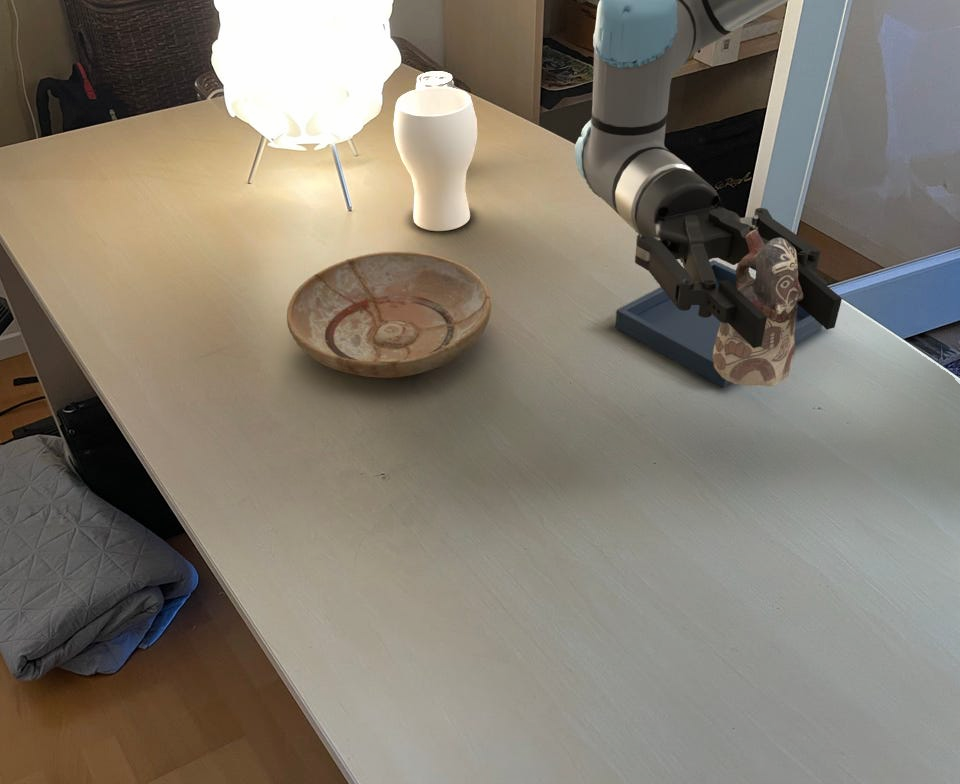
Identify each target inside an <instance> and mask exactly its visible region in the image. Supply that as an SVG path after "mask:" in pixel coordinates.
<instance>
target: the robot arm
mask: <svg viewBox="0 0 960 784" xmlns="http://www.w3.org/2000/svg"><path fill="white" fill-rule="evenodd" d="M789 1H790V0H599V2H598V4H597V8H596V19H595V27H594V31H593V32H594V33H593V35H592V36H593V37H592V39H593V42H592V44H593V45H592V46H593V76H592V78H593V79H592V80H593V81H592V104H591V105H592V108H591V118H590V119H589V121H587V123H586V124H585V125H584V126H583V128H581V132H580V134H579V136H578V138H577V140H576V143H575V146H574V162H575V167H576V170H577V171H578V173H579V175H580V176H581V178H583V180H584V181H585V183H586V184H587V185H588V188H589V189H590V190H591V192H593V193H594V195H596V196H597V197H598V198H600V199H601V200H602V201H604V202H605V203H606V204H607V205H608V206H609V207H611V209H612V210H613V211H614V212H615V213H616V214H617V215H618V216H620V218H621V219H622V220H623V221H624V222H625V223H627V225H629V226H630V227H631V229H633V230H634V231H635V233H637V235H636V241H635V253H634V263H635V264H636V265H637V266H640V267H641V268H643V269H645V270H646V271H648V272H649V274H650V275H651V277H653V279H654V280H655V281H656V283H657V284H658V285H659V286H660V287H662V289H663V290H664V291H665V293H666V294H667V295H668V296H669V298H670V299H671V300H672V302H673V303H674V304H675V305H676V307H677V308H678V309H679V310H683V311H686V310H689V309H691V305H699V311H698V315H699V316H700V317H703V318H707V317H710V316H711V315H712V314H713V315H714V316H715V317H716V318H717V319H718V320H719V321H720V322H722V323H728V324H729V325H730V326H731V327H733V328H734V329H735V330H736V331H737V332H738V333H739V334H740V335H741V336H742V337H743V338H744V339H745V340H746V341H747V342H748V343H749V344H750V345H751V346H752V347H753V348H757V347H761V346H762V341H763V336H764V331H765V326H766V321H767V316H766V315H765V314H763V313H762V312H761V311H760V310H759V309H758V308H757V307H756V306H755V305H754V304H753V303H752V302H751V301H750V300H748V299H747V298H746V297H745V296H744V295H743V294H742V293H741V292H740V291H739V290H738V289H737V288H736V287H735V286H734V285H732V284H731V283H730V282H729V281H728V280H724V281H720V282H719V288H718V287H717V286H716V282H717V280H716V277H715V275H714V272H713V269H712V266H711V264H710V262H711V260H714V259H719V260H721V261H724V262H725V263H727V264H730V265H731V266H736V265H738V263H739V262H740V261H741V260H742V259H743V258H744V257H745V256H746V255H748V254H749V252H750V251H749V247H748V244H747V241H746V235H747V234H749V233H750V232H752V231H753V230H757V231H758V233H759V235H760V237H761V239H762V241H763V242H764V244H765V245H766V244H767V243H768V242H769V241H770V240H772V239H774V238H783V239H785V240H787V241H788V242H789V243H790V244H791V245H792V246H793V247H794V248H795V250H796V253H797V264H798V281H799V284H800V286H801V289H802V292H803V298H802V300H800V301H798V302H797V304H799V305H800V306H801V307H802V308H803V309H804V310H805V311H806V312H808V313H809V314H810V315H811V316H812V317H813V318H814V319H815V320H817V321H818V322H819V323H820V324H821V325H822V327H823V328H824V329H825V330H831V329H835V327H836V325H837V324H836V323H837V320H838V316H839V313H840V309H841V308H840V307H841V304H842V300H843V298H842V297H841V296H840V295H839V294H838V293H836V292H835V291H834V290H833V289H832V288H830V286H828V283H827V280H825V279H824V278H823V277H822V276H821V275H819V274H818V273H817V271H818V267H819V262H820V258H821V250H820V249H818V248H816V247H815V246H814V245H812V244H811V243H809V242H808V241H806V240H805V239H803V238H802V237H801V236H799V235H797V234H796V233H795V232H793V231H792V230H790V229H789V228H787V227H786V226H784V225H783V224H781V222H778V221H777V220H776V219H774V218H773V217H772V215H771V213H770V211H769V209H767V208H765V207H758V208H755V210H754V212H753V215H752V216H748V217H747V216H745V217H740V216H739V215H738V214H737V213H736V212H735V211H731V210H728V209H726V208H725V207H724V205H723V203H722V201H721V197H720V196H719V194H718V192H717V191H716V189H715V188H714V187H713V186H712V185H711V184H710V183H708V182H707V181H706V180H705V179H703V177H701V176H700V175H699V174H698V173H696V172H695V170H693V169H692V167H690V166H689V165H687V164H686V163H685V162H684V161H683V160H682V159H680V158H679V157H677V156H676V155H675V154H674V153H672V152H671V151H670V150H669V149H668V148H667V147H666V146H665V138H666V128H667V121H668V112H669V111H668V110H669V109H668V108H669V102H670V91H671V82H672V79H673V77H674V76H675V75H676V74H677V73H678V72H679V70H680V69H681V68H682V67H683V66H684V65H685V64H686V63H687V61H688V60H689V59H690V58H691V57H692V56H693V55H694V54H696V53H697V52H699V51H700V50H702V49H704V48H706V47H708V46H709V45H711V44H713V43H715V42H717V41H719V40H721V39H723V38H724V37H726V36H727V35H729V34H730V33H733V32H734V31H735V30H737V29H739V28H741V27H743V26H745V25H747V24H748V23H749V22H752V21H753V20H755V19H758V18H759V17H761V16H763V15H764V14H766V13H768V12H770V11H772V10H775V8H777V7H780V6H781V5H783V4H785V3H786V2H789ZM678 260H679V261H680V262H679V261H678ZM749 269H750V270H751V269H752V270H753V271H755V269H754V268H753V267H749Z"/></svg>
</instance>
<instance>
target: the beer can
mask: <svg viewBox="0 0 960 784" xmlns="http://www.w3.org/2000/svg"><path fill="white" fill-rule="evenodd" d="M427 87H450V88H455V82H454V80H453V75H452V74H451V73H448V72H446V71H436V70H435V71H427V72H425V73H421V74H420V75H418V76H417V78H416V85H415V90H416V89H421V88H427Z"/></svg>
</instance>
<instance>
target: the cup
mask: <svg viewBox="0 0 960 784" xmlns="http://www.w3.org/2000/svg"><path fill="white" fill-rule="evenodd" d="M476 115H477V114H476V112H475V108H474V104H473V100H472V97H471V95H470V94H469V93H467V92H466V91H464V90H462V89H459V88H455V87H454V88H450V87H427V88H421V89H416V88H415V89H414V90H410V91H407V92H406V93H404V94H402V95H401V96H400V97H398V99H397V101H396V102H395V109H394V118H393V132H394V142H395V145H396V148H397V151H398V154H399V156H400V159H401V161H402V163H403V165H404V167H405V169H406V170H407V171H408V173H409V174H410V177H411V181H412V185H413V189H414V203H413V222H414V224H415V225H416V226H417V227H419V228H421V229H423V230H426V231H433V232H445V231H450V230H455V229H458V228H460V227H462V226H464V225H466V224H467V223H468V222H469V221H470V219H471V211H470V206H469V202H468V201H469V200H468V196H467V193H466V184H467V183H466V182H467V172H468V169H469V167H470V164H471V162H472V160H473V159H474V153H475V149H476V144H477V141H478V119H477V116H476Z"/></svg>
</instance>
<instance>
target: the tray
mask: <svg viewBox="0 0 960 784" xmlns="http://www.w3.org/2000/svg"><path fill="white" fill-rule="evenodd" d="M710 264H711V266H712V269H713V272H714V275H715V277H716V280H717V282H716V286H717V287H718V288H719V282H720V281H724V280H728V281H729V282H730V283H731V284H732V285H734V286H735V287H736V269H734V268H732V267H729V266H728V265H725V264H723V263H721V262H719V261H717V260H715V259H711V260H710ZM615 311H616V312H615V322H614V323H615V325H614V326H615V327H614V328H615V329H617V330H619V331H620V332H622V333H624V334H626V335H628V336H630V337H631V338H632V339H635V340H636V341H639V342H641V343H642V344H644V345H645V346H648V347H649V348H651V349H653V350H655V351H656V352H659V353H660V354H662V355H664V356H665V357H667V358H669V359H671V360H672V361H674V362H676V363H678V364H680V365H682V366H683V367H686V368H687V369H688V370H691V371H692V372H694V373H696V374H698V375H700V376H701V377H703V378H705V379H707V380H709V381H711V382H712V383H714V384H716V385H717V386H719V387H721V388H723V389H724V388H727V387H728V386H730V385H731V384H733V383H732V382H729V381H727V380H726V379H724V378H723V377H721V375H720V374H719V373H718V372H717V371H716V369H715V368H714V362H713V349H714V345H715V342H716V338H717V334H718V331H719V327H720V324H721V322H720V321H719V320H718V319H717V318H716V317H715V316H714V315H713V314H712V315H711V316H710V317H707V318H703V317H700V316H699V315H698V311H699V305H691V309H689V310H686V311H683V310H679V309H678V308H677V307H676V305H675V304H674V303H673V302H672V300H671V299H670V298H669V296H668V295H667V294H666V293H665V291H664V290H663V289H662V287H661V286H660V287H658V288H656V289H654V290H652V291H650V292H648V293H646V294H645V295H642V296H640V297H638V298H637V299H635V300H633V301H631V302H629V303H627V304H625V305H623V306H621V307H619V308H618V309H616V310H615ZM822 327H823V326H822V325H821V324H820V323H819V322H818V321H817V320H815V319H814V318H813V317H812V316H811V315H810V314H809V313H808V312H806V311H805V310H804V309H803V308H802V307H801V306H800V305H799V304H797V316H796V327H795V336H794V340H795V346H797V345H799V344H800V343H802V342H804V341H805V340H807V339H809V338H811V337H812V336H815V334H817V333H819V332H821V331H822Z"/></svg>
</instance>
